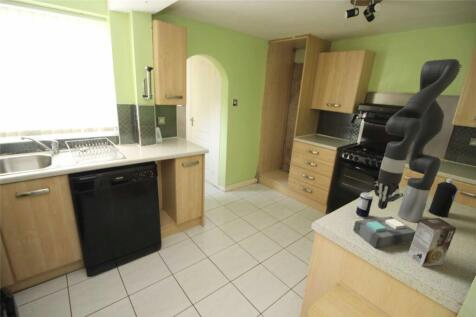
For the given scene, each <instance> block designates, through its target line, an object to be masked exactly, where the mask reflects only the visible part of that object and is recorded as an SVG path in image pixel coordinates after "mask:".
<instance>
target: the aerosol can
mask: <svg viewBox="0 0 476 317" xmlns="http://www.w3.org/2000/svg"><path fill="white" fill-rule="evenodd" d="M453 181H454V180H453V179H452V178H447V180H446V181H444V182H443V181H442V182H439V183H437V184H436V188H435V192H434V194H433V198H432V200H431V203H430V206H429V209H428V210H427V211H428V213H430V214H431V215H433V216H436V217H438V218H439V217H440V218H448V217H449V214H450V210H451V208H452V205H453V203H454V200H455V198H456V195H457V191H458V190H459V188H458V187H457V186H456V185H455V184H454V183H453Z"/></svg>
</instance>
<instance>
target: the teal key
mask: <svg viewBox="0 0 476 317" xmlns="http://www.w3.org/2000/svg"><path fill="white" fill-rule="evenodd" d="M366 226H368V227H369V228H371V229H372V230H373V231H375V232H381V231H385V230H386V227H384V226H383V225H381V224H380V223H378V222H377V221H374V222H367V224H366Z"/></svg>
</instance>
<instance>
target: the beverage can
mask: <svg viewBox="0 0 476 317" xmlns="http://www.w3.org/2000/svg"><path fill="white" fill-rule="evenodd" d="M358 197H359V198H358V202H357V205H356V206H357V207H356V210H355V214H356V215H357V216H358V217H359V218H362V219H367V218H368V217H369V215H370V211H371V207H372V204H373V200H374V197H373V194H372V193H370V192H365V191H364V192H360V194H359V196H358Z"/></svg>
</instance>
